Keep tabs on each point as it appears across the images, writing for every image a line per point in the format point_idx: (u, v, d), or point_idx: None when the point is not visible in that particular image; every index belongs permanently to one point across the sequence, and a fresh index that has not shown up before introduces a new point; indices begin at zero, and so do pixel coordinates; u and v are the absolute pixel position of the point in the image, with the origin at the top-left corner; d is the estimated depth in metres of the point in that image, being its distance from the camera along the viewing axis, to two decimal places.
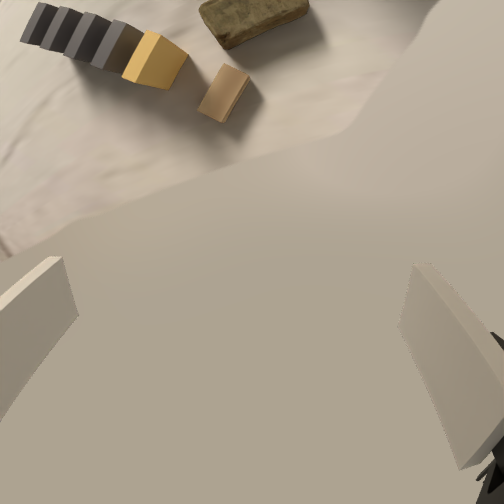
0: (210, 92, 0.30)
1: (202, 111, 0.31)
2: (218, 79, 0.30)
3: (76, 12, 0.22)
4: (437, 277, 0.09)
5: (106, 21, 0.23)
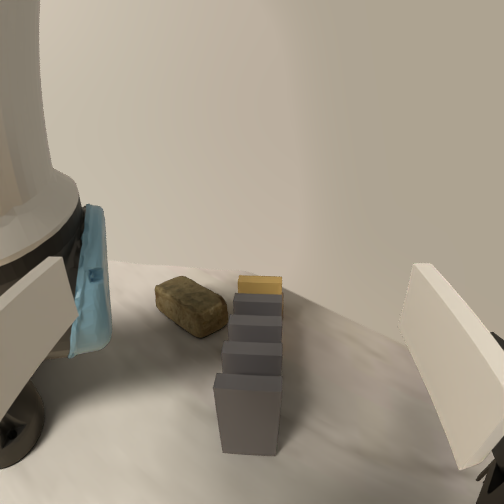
0: None
1: (282, 300, 0.45)
2: None
3: None
4: (437, 277, 0.09)
5: None
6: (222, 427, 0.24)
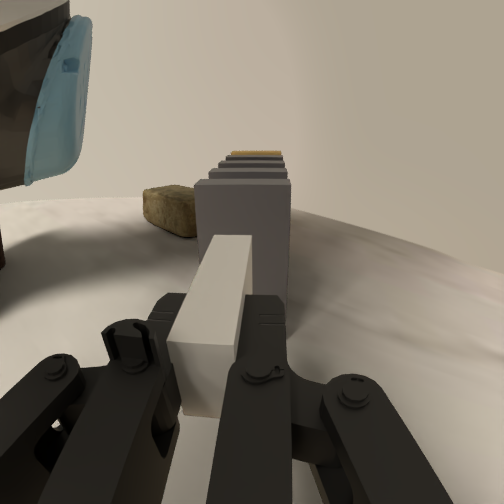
0: None
1: None
2: None
3: None
4: (242, 245, 0.12)
5: None
6: None
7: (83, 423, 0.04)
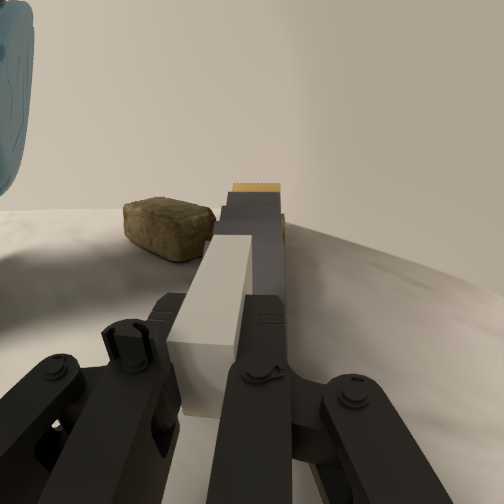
0: None
1: (283, 220, 0.33)
2: None
3: None
4: (242, 245, 0.12)
5: None
6: None
7: (83, 423, 0.04)
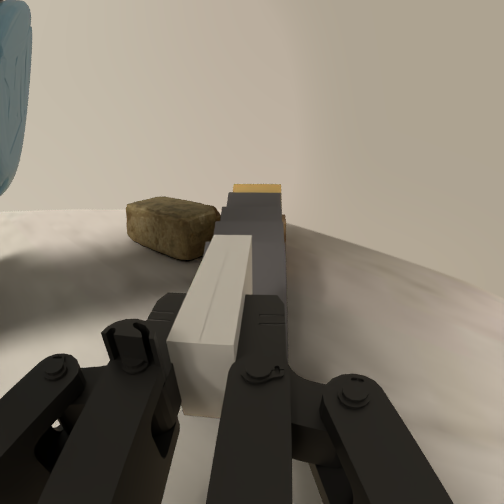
0: None
1: (284, 221, 0.33)
2: None
3: None
4: (242, 245, 0.12)
5: None
6: None
7: (83, 423, 0.04)
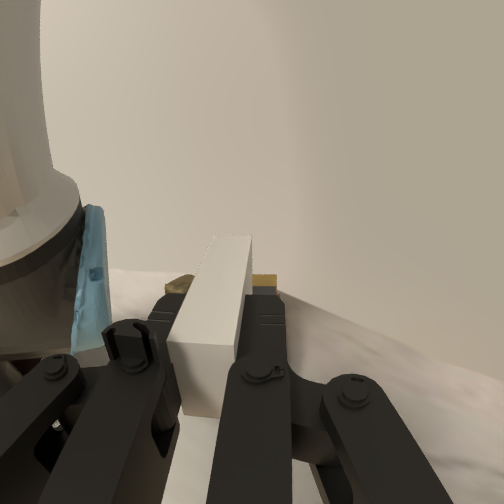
0: None
1: None
2: None
3: None
4: (243, 245, 0.12)
5: None
6: None
7: (83, 423, 0.04)
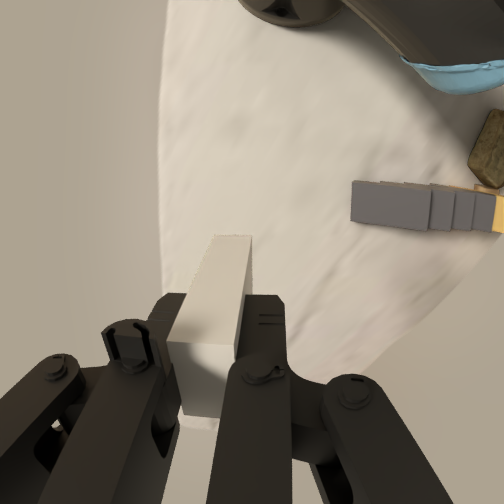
0: None
1: None
2: None
3: (442, 190, 0.34)
4: (242, 245, 0.12)
5: (456, 190, 0.35)
6: (389, 188, 0.35)
7: (83, 423, 0.04)
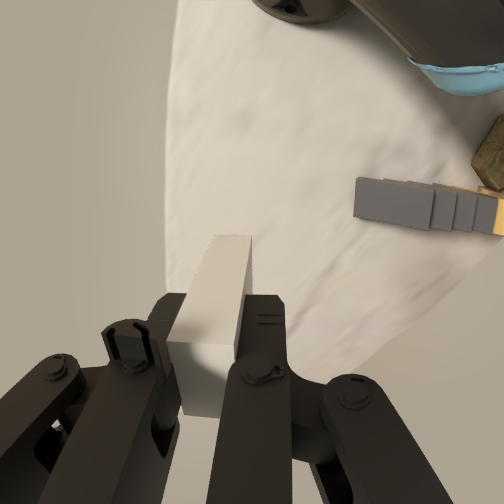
0: None
1: None
2: None
3: None
4: (242, 245, 0.12)
5: (459, 191, 0.35)
6: (392, 186, 0.35)
7: (83, 423, 0.04)
